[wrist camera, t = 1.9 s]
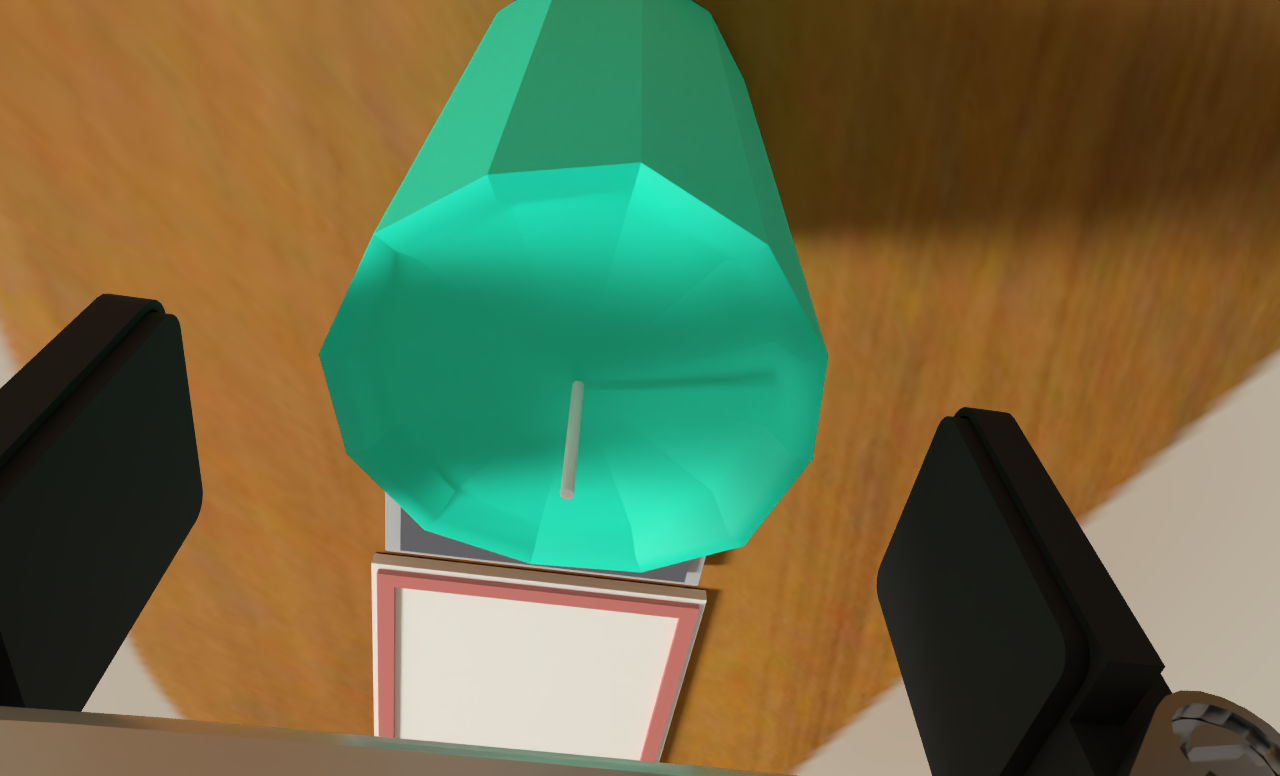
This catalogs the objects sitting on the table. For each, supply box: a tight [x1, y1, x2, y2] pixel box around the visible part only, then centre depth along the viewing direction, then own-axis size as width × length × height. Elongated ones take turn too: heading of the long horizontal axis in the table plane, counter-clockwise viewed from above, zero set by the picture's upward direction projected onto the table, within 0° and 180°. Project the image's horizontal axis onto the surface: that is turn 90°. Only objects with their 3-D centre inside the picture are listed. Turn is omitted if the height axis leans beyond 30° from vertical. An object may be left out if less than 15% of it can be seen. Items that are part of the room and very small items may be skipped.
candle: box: [319, 0, 828, 573], centre depth 14 cm, size 6×6×12 cm
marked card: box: [371, 553, 707, 762], centre depth 30 cm, size 10×10×1 cm
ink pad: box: [385, 492, 706, 586], centre depth 24 cm, size 9×9×1 cm
